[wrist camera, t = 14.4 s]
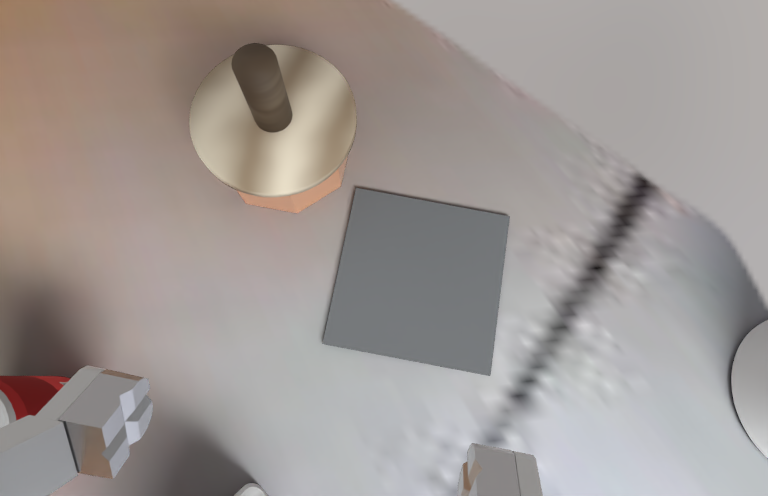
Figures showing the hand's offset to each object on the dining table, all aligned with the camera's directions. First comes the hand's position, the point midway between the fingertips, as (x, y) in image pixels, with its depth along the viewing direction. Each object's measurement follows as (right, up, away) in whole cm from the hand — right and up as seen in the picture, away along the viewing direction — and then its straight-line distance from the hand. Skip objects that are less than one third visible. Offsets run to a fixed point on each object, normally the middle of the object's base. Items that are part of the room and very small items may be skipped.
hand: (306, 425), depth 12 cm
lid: (-7, +15, +29) cm, 34 cm away
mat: (+5, +2, +32) cm, 33 cm away
